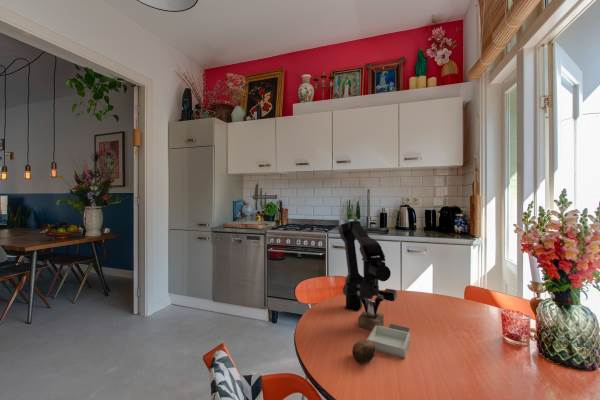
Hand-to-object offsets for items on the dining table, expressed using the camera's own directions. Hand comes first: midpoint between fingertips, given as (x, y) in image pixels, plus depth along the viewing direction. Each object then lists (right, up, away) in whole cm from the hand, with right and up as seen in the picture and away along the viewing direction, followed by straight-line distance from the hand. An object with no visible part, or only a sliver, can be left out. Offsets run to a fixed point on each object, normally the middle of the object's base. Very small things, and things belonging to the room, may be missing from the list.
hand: (371, 313), depth 107 cm
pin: (0, -4, 0) cm, 4 cm away
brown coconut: (-8, -5, -23) cm, 25 cm away
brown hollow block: (0, -5, 0) cm, 5 cm away
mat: (+9, -5, -4) cm, 11 cm away
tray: (+2, -5, -14) cm, 15 cm away
